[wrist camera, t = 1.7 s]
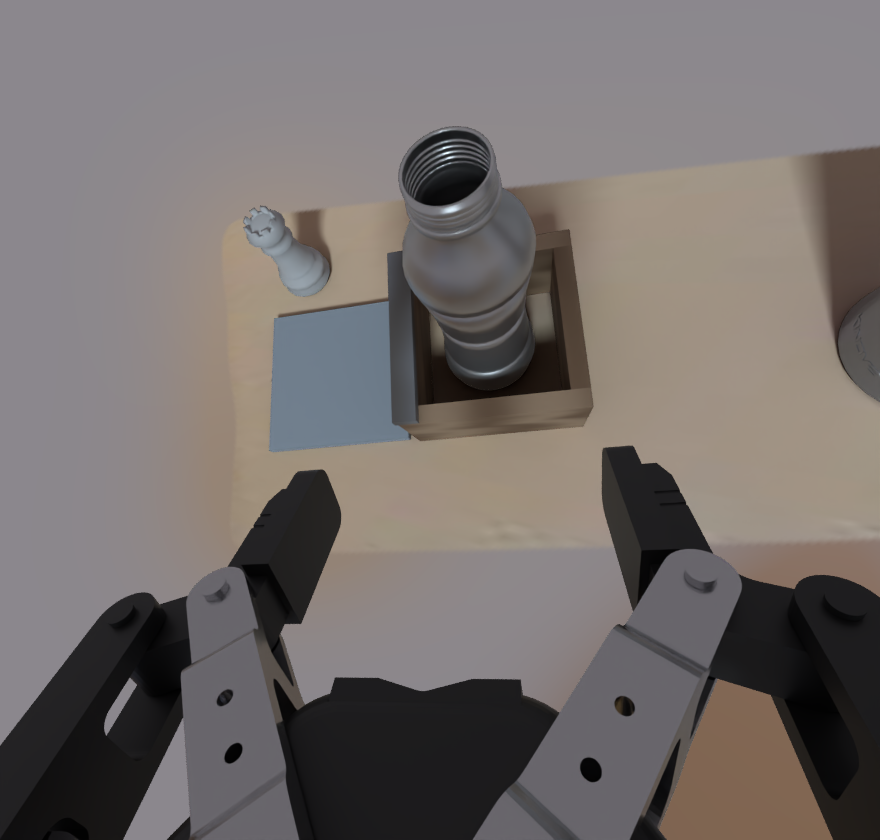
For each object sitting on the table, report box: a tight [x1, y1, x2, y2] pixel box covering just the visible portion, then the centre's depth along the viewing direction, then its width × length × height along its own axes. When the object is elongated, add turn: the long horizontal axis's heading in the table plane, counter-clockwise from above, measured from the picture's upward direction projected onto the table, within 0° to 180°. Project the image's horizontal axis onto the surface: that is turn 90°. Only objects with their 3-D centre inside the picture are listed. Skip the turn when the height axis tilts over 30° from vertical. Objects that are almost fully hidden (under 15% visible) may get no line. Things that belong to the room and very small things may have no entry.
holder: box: [387, 229, 593, 441], centre depth 32 cm, size 13×12×7 cm
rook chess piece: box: [243, 206, 330, 297], centre depth 37 cm, size 4×4×8 cm
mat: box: [269, 301, 411, 452], centre depth 38 cm, size 12×12×1 cm
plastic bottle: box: [398, 126, 536, 390], centre depth 26 cm, size 6×7×20 cm
